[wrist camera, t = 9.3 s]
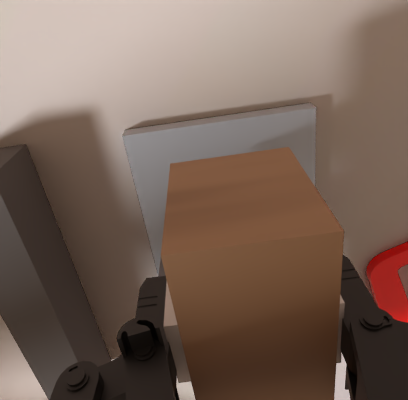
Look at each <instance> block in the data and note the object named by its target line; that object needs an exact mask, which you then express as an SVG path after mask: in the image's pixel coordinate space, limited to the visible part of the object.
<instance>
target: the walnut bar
mask: <svg viewBox="0 0 408 400" xmlns="http://www.w3.org/2000/svg"><path fill="white" fill-rule="evenodd" d="M343 241H344V230H343V229H342V227H341V226H340V224H339V223H338V221H337V220H336V218H335V216H334V215H333V213H332V212H331V210H330V209H329V207H328V206H327V204H326V203H325V201H324V200H323V198H322V197H321V195H320V194H319V192H318V191H317V189H316V187H315V186H314V184H313V183H312V181H311V180H310V178H309V177H308V175H307V174H306V172H305V171H304V169H303V168H302V166H301V165H300V163H299V162H298V160H297V158H296V157H295V155H294V154H293V152H292V151H291V149H290V148H289V147H284V148H277V149H270V150H263V151H256V152H249V153H242V154H235V155H228V156H221V157H213V158H206V159H199V160H192V161H185V162H178V163H171V164H170V171H169V180H168V190H167V200H166V209H165V219H164V229H163V238H162V248H161V259H162V263H163V267H164V271H165V275H166V279H167V283H168V288H169V292H170V296H171V300H172V304H173V308H174V312H175V316H176V321H177V325H178V329H179V333H180V337H181V341H182V345H183V349H184V354H185V358H186V362H187V366H188V370H189V374H190V378H191V382H192V386H193V391H194V395H195V399H196V400H334V390H335V374H336V357H337V340H338V324H339V307H340V290H341V274H342V257H343Z"/></svg>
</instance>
